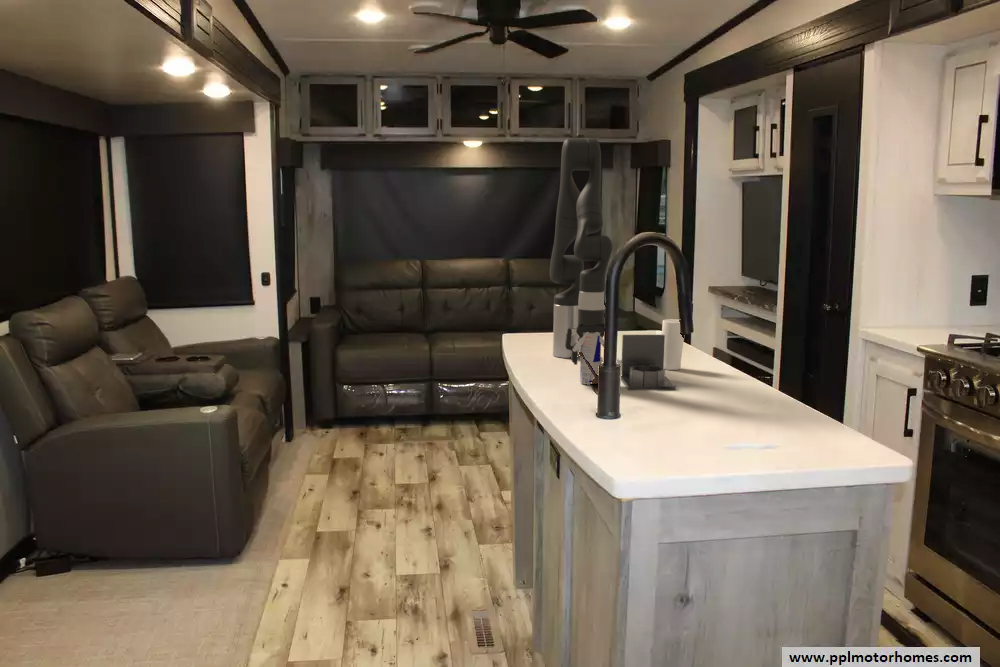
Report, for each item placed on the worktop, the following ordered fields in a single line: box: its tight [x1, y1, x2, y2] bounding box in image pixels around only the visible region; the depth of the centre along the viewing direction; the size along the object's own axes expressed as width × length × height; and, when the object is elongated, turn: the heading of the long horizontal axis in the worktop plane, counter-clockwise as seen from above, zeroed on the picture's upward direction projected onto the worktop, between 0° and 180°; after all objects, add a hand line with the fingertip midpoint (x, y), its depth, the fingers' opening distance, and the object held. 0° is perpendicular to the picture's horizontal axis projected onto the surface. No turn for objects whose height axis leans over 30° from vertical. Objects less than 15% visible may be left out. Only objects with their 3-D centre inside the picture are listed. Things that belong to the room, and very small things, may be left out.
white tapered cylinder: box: [661, 318, 685, 371], centre depth 251 cm, size 7×7×15 cm
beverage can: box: [579, 332, 602, 386], centre depth 232 cm, size 6×6×15 cm
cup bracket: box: [620, 334, 677, 391], centre depth 231 cm, size 14×13×13 cm
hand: (590, 364), depth 232 cm, fingers open, 8 cm apart
